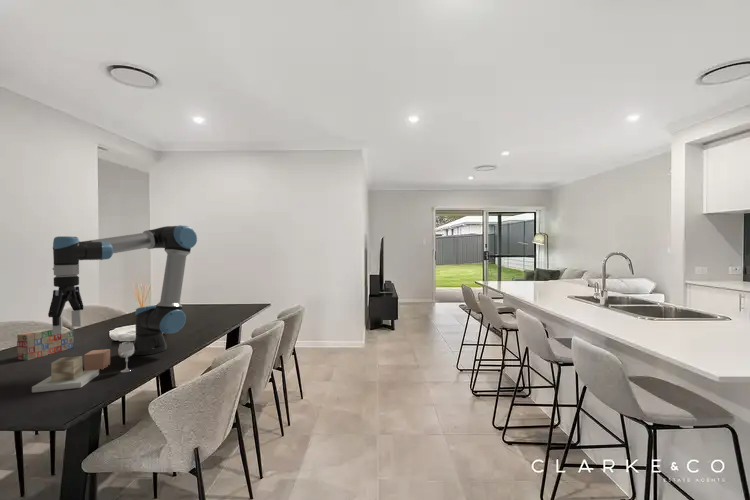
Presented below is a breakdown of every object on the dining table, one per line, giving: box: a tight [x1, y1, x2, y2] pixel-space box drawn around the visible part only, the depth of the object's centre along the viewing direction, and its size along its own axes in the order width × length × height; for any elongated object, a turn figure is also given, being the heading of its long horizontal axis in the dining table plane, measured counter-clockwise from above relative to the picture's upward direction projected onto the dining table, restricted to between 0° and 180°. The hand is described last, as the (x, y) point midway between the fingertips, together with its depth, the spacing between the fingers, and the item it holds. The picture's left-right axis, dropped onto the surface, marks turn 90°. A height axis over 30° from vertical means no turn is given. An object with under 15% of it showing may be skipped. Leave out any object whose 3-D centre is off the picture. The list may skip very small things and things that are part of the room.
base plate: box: [31, 370, 100, 393], centre depth 139 cm, size 15×15×2 cm
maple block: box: [50, 355, 84, 381], centre depth 139 cm, size 7×7×7 cm
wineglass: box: [117, 340, 135, 373], centre depth 153 cm, size 6×6×12 cm
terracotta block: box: [83, 348, 111, 371], centre depth 157 cm, size 7×7×7 cm
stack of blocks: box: [16, 328, 75, 361], centre depth 180 cm, size 21×6×12 cm, turn 168°
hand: (67, 330), depth 139 cm, fingers open, 13 cm apart
